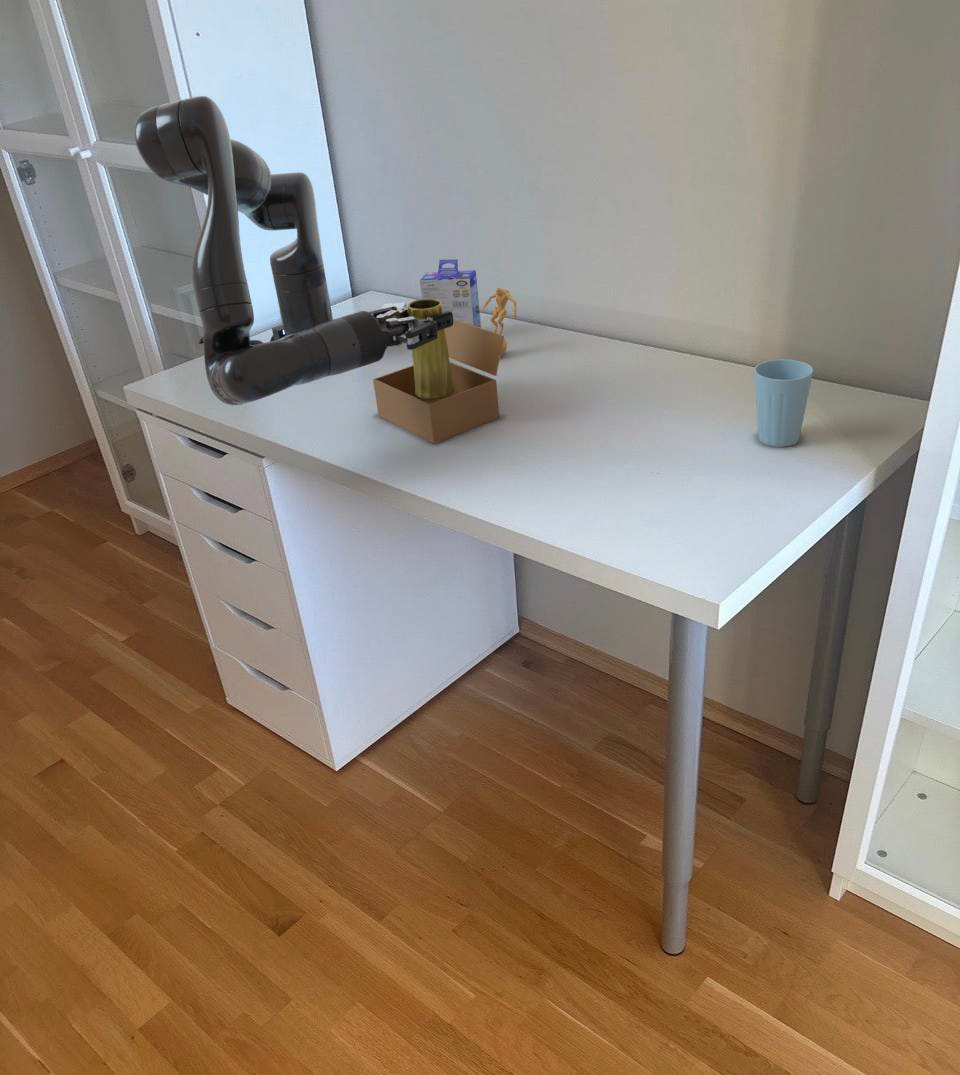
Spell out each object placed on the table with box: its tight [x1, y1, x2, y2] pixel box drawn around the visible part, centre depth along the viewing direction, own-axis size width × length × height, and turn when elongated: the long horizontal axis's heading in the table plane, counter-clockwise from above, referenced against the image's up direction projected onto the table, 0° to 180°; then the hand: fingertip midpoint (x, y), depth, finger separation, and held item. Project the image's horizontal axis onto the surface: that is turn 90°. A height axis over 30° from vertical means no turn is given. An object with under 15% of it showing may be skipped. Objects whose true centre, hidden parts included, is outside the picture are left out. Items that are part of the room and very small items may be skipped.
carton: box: [372, 361, 500, 445], centre depth 156 cm, size 16×13×6 cm
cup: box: [753, 358, 814, 448], centre depth 137 cm, size 8×8×10 cm
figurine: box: [481, 287, 517, 357], centre depth 176 cm, size 8×6×12 cm
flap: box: [445, 319, 505, 377], centre depth 156 cm, size 16×6×1 cm
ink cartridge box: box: [419, 258, 482, 328], centre depth 185 cm, size 10×6×14 cm, turn 79°
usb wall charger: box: [381, 302, 408, 310], centre depth 198 cm, size 4×7×4 cm, turn 84°
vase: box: [407, 298, 454, 400], centre depth 152 cm, size 6×6×14 cm
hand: (439, 314), depth 150 cm, fingers closed on vase, 5 cm apart
